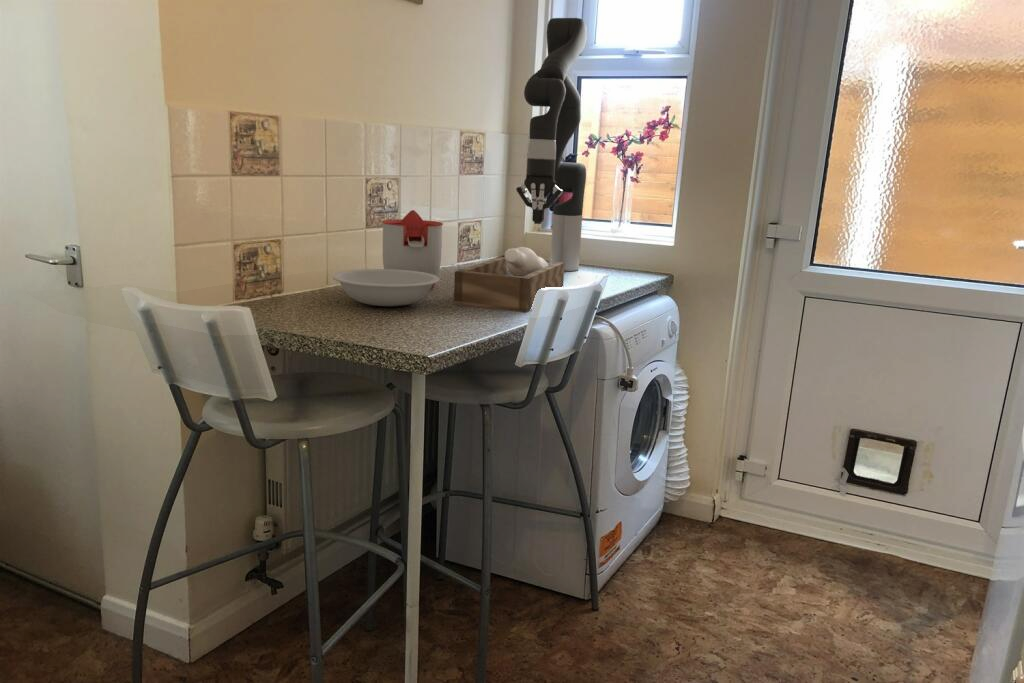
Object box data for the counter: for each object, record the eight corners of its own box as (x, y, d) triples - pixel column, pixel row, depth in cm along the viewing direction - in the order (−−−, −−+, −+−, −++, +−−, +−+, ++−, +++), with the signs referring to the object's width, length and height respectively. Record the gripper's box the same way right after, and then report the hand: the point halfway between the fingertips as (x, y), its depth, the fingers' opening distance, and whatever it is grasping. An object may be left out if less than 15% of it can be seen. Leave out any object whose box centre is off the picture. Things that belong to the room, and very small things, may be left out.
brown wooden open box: (498, 285, 218) (500, 257, 217) (562, 292, 213) (564, 262, 211) (453, 304, 189) (454, 271, 187) (526, 312, 183) (528, 278, 182)
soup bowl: (460, 308, 184) (461, 280, 183) (372, 319, 168) (373, 288, 166) (397, 292, 201) (397, 266, 199) (312, 301, 184) (312, 272, 183)
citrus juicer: (383, 293, 198) (384, 212, 193) (378, 282, 214) (379, 206, 210) (446, 294, 202) (449, 214, 197) (437, 282, 218) (439, 208, 213)
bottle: (550, 256, 217) (527, 236, 188) (550, 286, 217) (528, 270, 187) (521, 258, 219) (494, 238, 190) (521, 287, 218) (494, 272, 189)
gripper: (569, 158, 213) (565, 224, 217) (521, 156, 217) (518, 221, 221) (562, 158, 206) (557, 226, 210) (513, 156, 210) (510, 222, 214)
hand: (537, 223), depth 215 cm, fingers closed
